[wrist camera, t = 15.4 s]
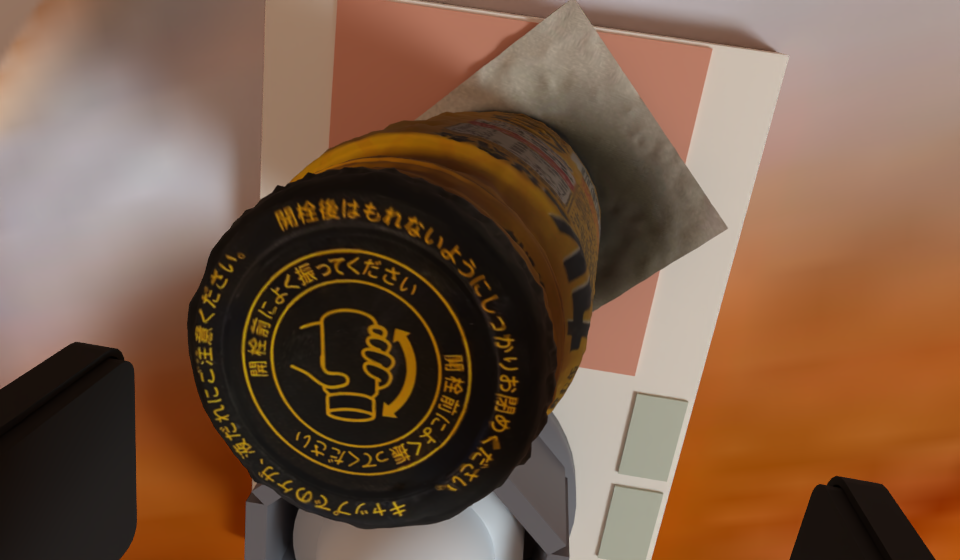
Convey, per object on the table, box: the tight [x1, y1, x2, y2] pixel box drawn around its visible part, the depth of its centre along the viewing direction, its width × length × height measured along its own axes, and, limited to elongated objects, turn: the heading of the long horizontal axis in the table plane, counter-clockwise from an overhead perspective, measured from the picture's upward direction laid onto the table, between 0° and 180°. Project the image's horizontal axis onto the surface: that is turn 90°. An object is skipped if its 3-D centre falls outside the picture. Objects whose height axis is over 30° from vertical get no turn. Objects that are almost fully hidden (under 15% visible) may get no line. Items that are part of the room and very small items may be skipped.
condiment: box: [187, 0, 728, 530], centre depth 16 cm, size 7×8×12 cm
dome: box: [293, 492, 525, 560], centre depth 22 cm, size 7×7×5 cm
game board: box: [245, 0, 789, 560], centre depth 22 cm, size 20×14×6 cm
